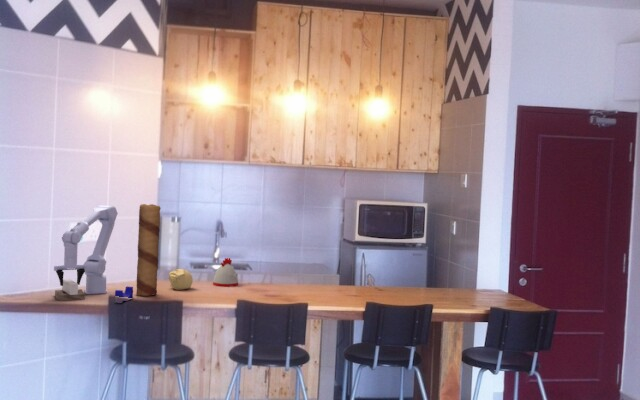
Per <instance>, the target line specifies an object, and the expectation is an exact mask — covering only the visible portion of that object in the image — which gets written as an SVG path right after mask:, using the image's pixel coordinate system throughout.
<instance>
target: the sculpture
mask: <svg viewBox="0 0 640 400" xmlns="http://www.w3.org/2000/svg"><path fill="white" fill-rule="evenodd" d="M193 278H194V277H193V276H192V274H191V272H190V271H188V270H186V269H183V268H178V269H174V270H172V271H170V272H169V274H168V279H169V282H170V287H172V288H173V289H174V290H177V291H182V290H187V289H190V288H191V287H192V285H193V283H194V281H193Z"/></svg>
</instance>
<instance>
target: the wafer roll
mask: <svg viewBox="0 0 640 400" xmlns="http://www.w3.org/2000/svg"><path fill="white" fill-rule="evenodd" d="M161 208H162V207H161V206H160V205H156V204H153V203H152V204H151V203H150V204H145V203H144V204H143V203H141V204H140V205H139V209H138V210H139V211H138V235H137V237H138V239H137V240H138V241H137V243H138V244H137V266H136V296H143V297H146V296H147V297H149V296H154V295H157V293H158V290H157V289H158V288H157V287H158V283H157V282H158V269H159V243H160V241H159V240H160V231H161V230H160V228H161Z"/></svg>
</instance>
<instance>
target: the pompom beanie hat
mask: <svg viewBox="0 0 640 400" xmlns="http://www.w3.org/2000/svg"><path fill="white" fill-rule="evenodd" d="M232 262H233V259H231V257H225V258H224V260H222V262H220V266H219V267H218V268H217V269H216V271H215V272H214V277H213V281H212V285H213V286H215V287H223V288H225V287H226V288H230V287H237V286H239V279H238V273H237V272H236V270H235V268H234V267H233V266H232V265H231V264H232Z"/></svg>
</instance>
